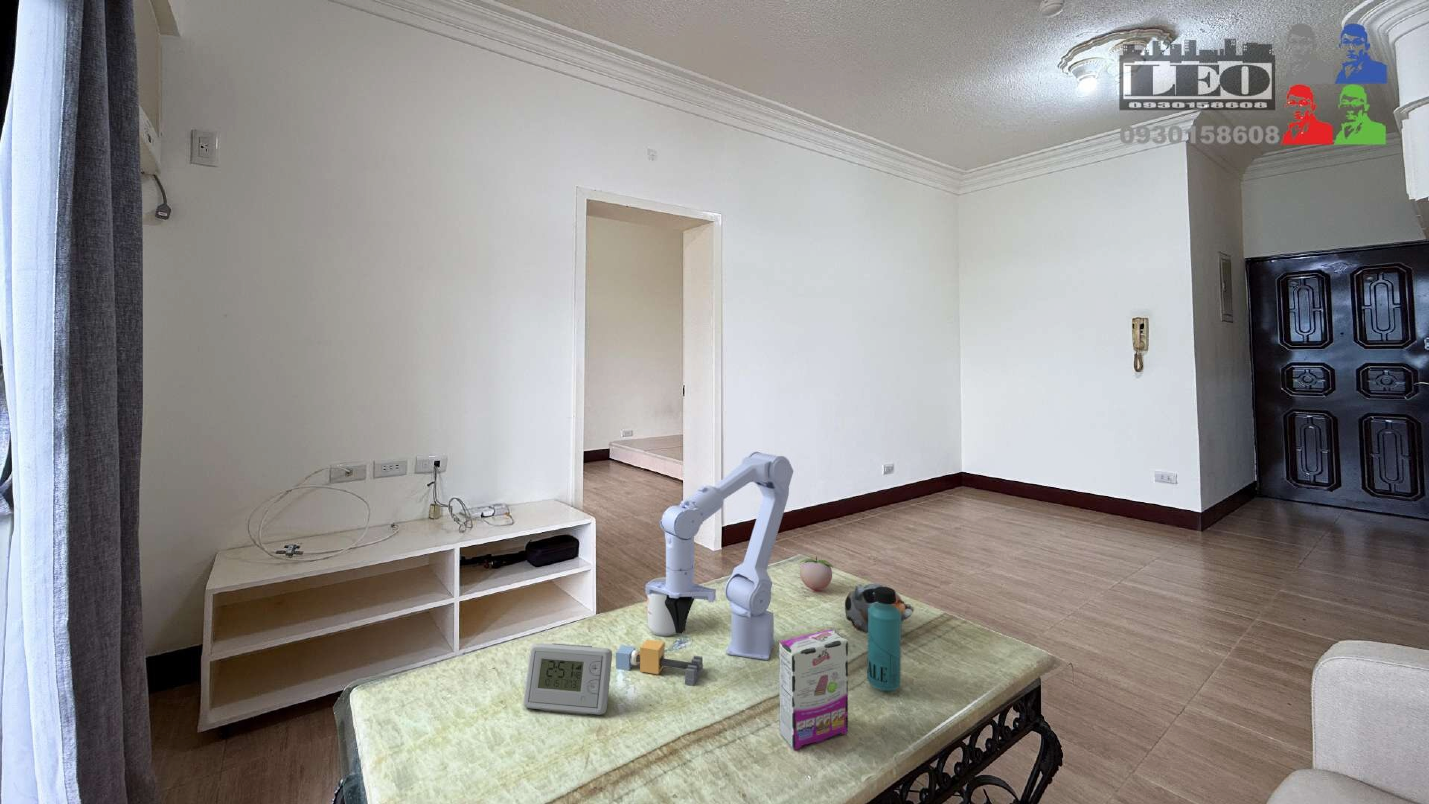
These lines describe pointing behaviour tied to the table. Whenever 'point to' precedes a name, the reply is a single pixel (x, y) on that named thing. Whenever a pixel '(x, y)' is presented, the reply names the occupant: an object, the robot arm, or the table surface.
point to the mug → (659, 614)
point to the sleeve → (651, 656)
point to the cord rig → (660, 663)
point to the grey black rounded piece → (863, 600)
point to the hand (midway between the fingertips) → (680, 631)
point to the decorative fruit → (816, 573)
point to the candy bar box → (813, 688)
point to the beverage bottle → (884, 641)
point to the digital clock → (568, 678)
